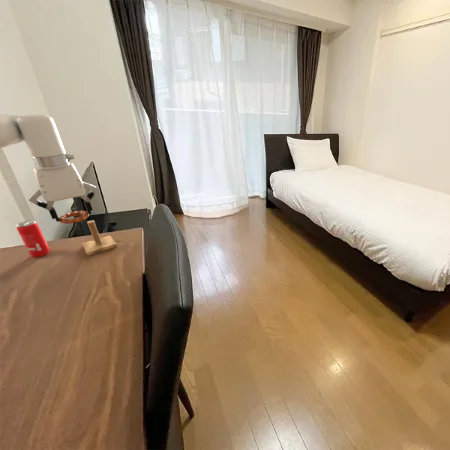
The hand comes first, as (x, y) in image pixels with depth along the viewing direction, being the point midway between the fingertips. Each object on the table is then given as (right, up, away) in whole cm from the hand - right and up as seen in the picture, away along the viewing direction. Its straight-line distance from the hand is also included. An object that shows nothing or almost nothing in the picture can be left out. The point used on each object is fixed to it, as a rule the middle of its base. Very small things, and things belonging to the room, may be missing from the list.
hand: (74, 216), depth 86 cm
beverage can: (-19, -13, +9) cm, 25 cm away
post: (-2, -11, +14) cm, 18 cm away
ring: (0, 0, 0) cm, 0 cm away
